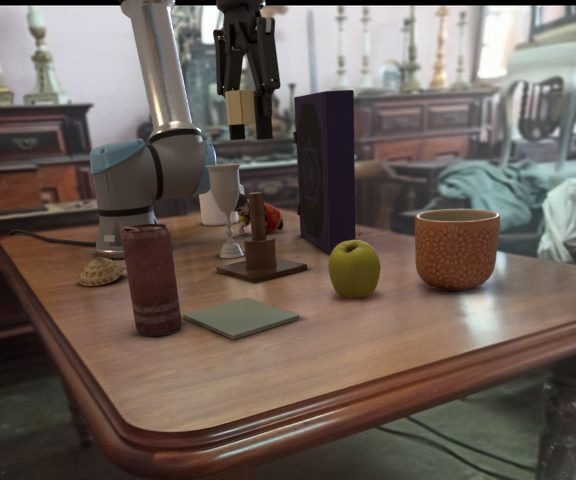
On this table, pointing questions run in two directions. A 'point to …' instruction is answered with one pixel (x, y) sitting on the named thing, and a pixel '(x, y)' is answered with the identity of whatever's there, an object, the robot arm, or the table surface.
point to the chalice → (226, 200)
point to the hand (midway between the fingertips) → (251, 139)
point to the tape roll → (240, 107)
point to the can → (151, 278)
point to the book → (326, 167)
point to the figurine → (271, 215)
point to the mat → (240, 317)
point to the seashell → (100, 272)
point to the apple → (354, 268)
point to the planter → (456, 247)
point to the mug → (214, 210)
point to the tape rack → (260, 251)
